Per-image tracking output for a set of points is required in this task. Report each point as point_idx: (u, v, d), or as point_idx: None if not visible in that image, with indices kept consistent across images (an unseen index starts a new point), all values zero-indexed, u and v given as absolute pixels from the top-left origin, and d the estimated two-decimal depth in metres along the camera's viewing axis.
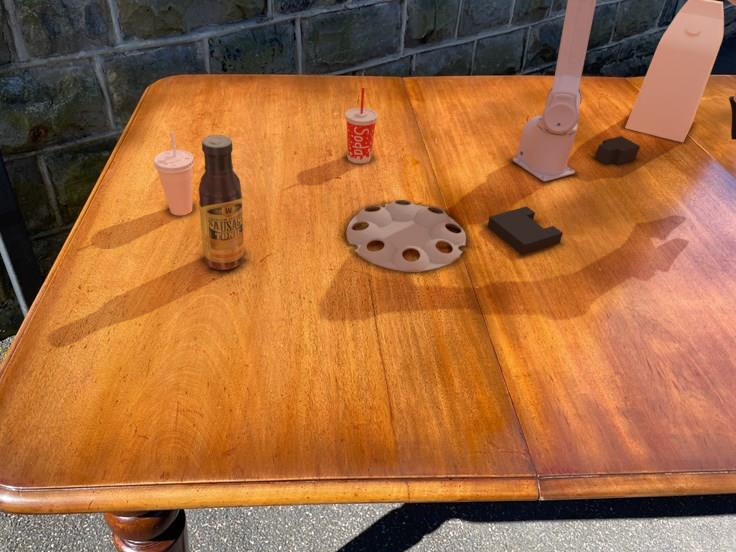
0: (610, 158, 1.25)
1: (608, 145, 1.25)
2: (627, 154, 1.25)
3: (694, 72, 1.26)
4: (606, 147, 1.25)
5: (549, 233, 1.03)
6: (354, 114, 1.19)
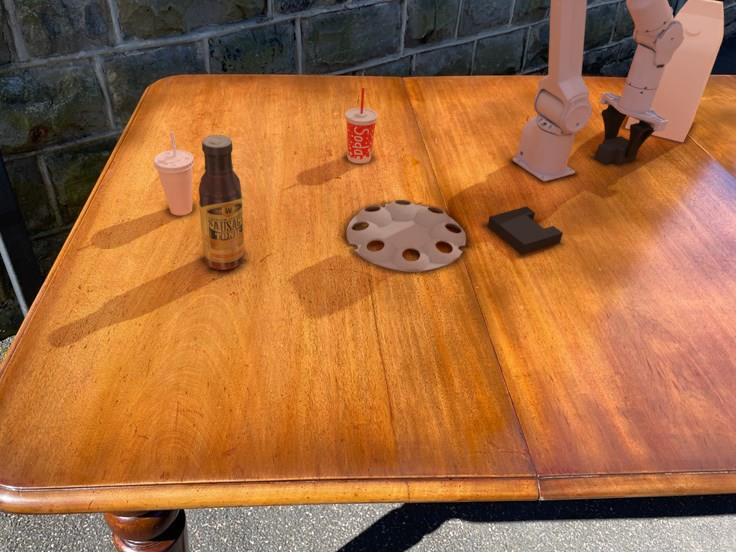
0: (610, 158, 1.25)
1: (608, 145, 1.25)
2: None
3: (694, 72, 1.26)
4: (606, 146, 1.25)
5: (549, 233, 1.03)
6: (354, 114, 1.19)
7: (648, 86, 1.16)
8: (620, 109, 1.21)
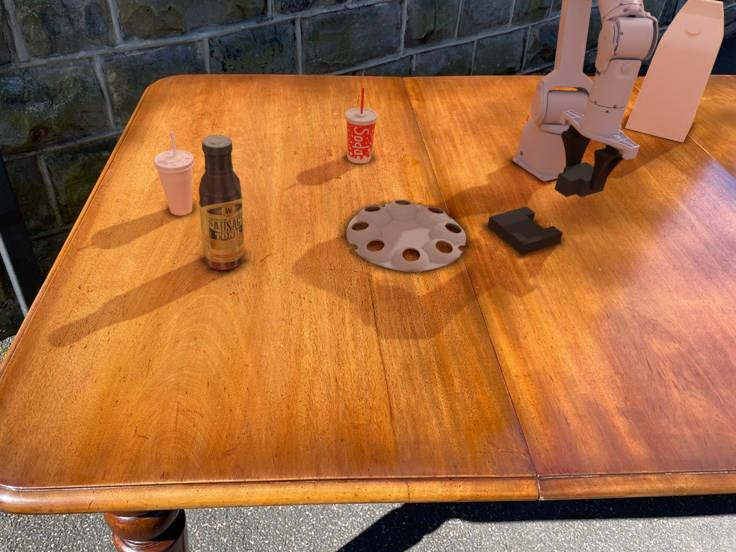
0: (572, 190, 1.03)
1: (570, 174, 1.03)
2: None
3: (694, 72, 1.26)
4: (567, 176, 1.03)
5: (549, 233, 1.03)
6: (354, 114, 1.19)
7: (589, 93, 0.97)
8: (582, 131, 0.99)
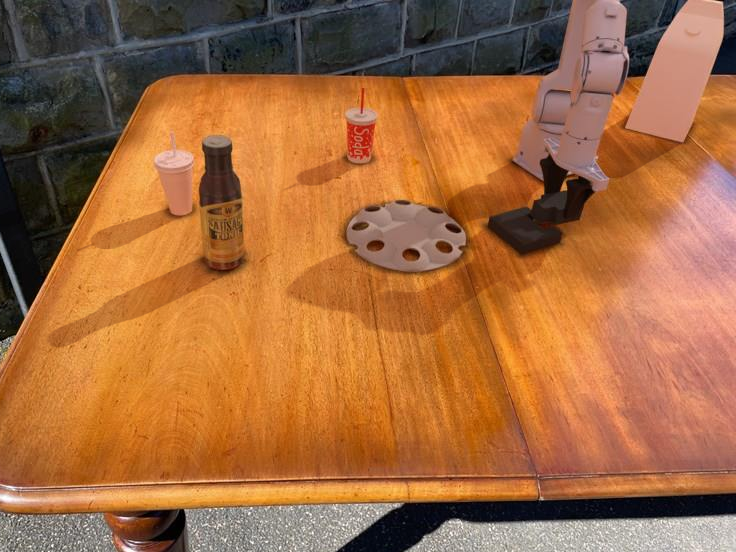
0: (546, 217, 1.04)
1: (545, 201, 1.04)
2: None
3: (694, 72, 1.26)
4: (541, 203, 1.04)
5: (549, 233, 1.03)
6: (354, 114, 1.19)
7: None
8: (556, 161, 1.00)
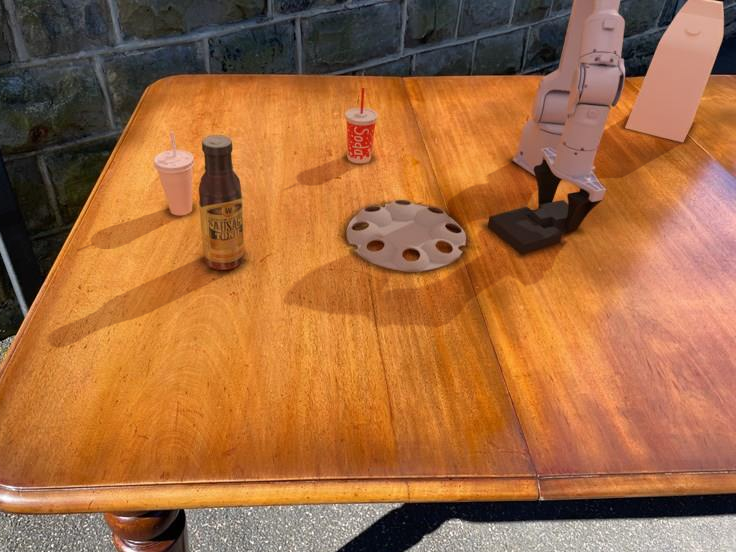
0: (543, 227, 1.06)
1: (542, 211, 1.06)
2: (564, 223, 1.05)
3: (694, 72, 1.26)
4: (538, 213, 1.05)
5: (549, 233, 1.03)
6: (354, 114, 1.19)
7: None
8: (553, 171, 1.01)
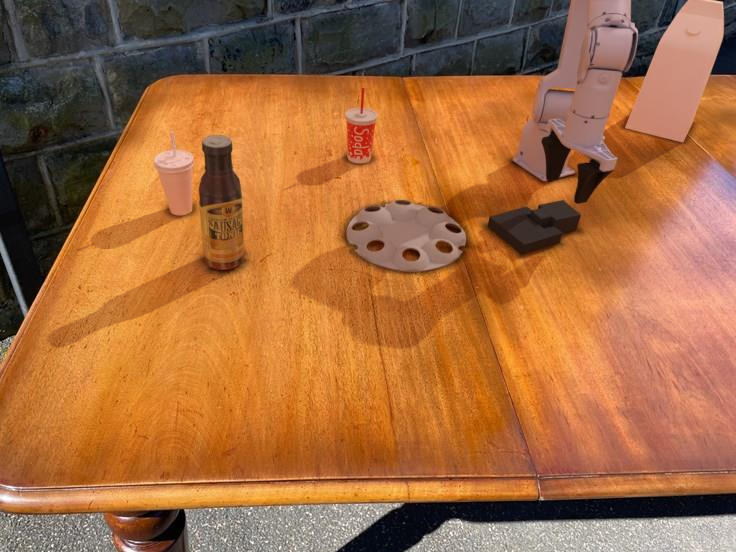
0: (543, 227, 1.06)
1: (542, 211, 1.06)
2: (564, 223, 1.05)
3: (694, 72, 1.26)
4: (538, 213, 1.05)
5: (549, 233, 1.03)
6: (354, 114, 1.19)
7: None
8: (563, 141, 0.98)
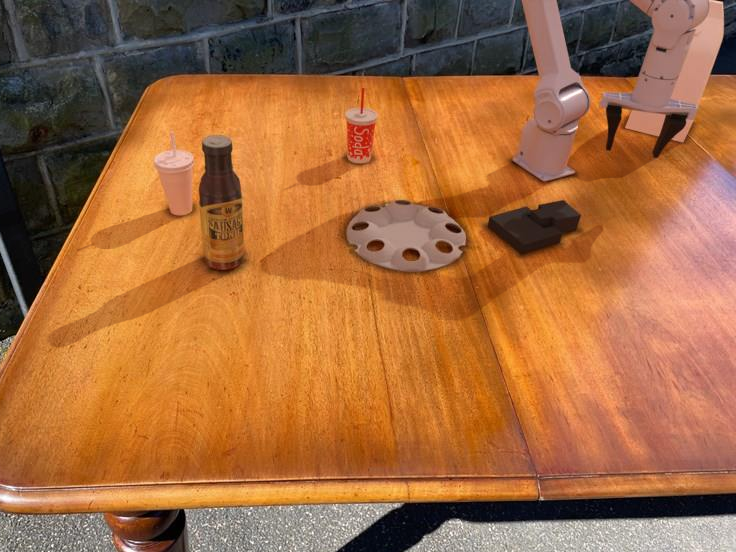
0: (543, 227, 1.06)
1: (542, 211, 1.06)
2: (564, 223, 1.05)
3: (694, 72, 1.26)
4: (538, 213, 1.05)
5: (549, 233, 1.03)
6: (354, 114, 1.19)
7: (646, 71, 0.99)
8: (647, 108, 1.01)
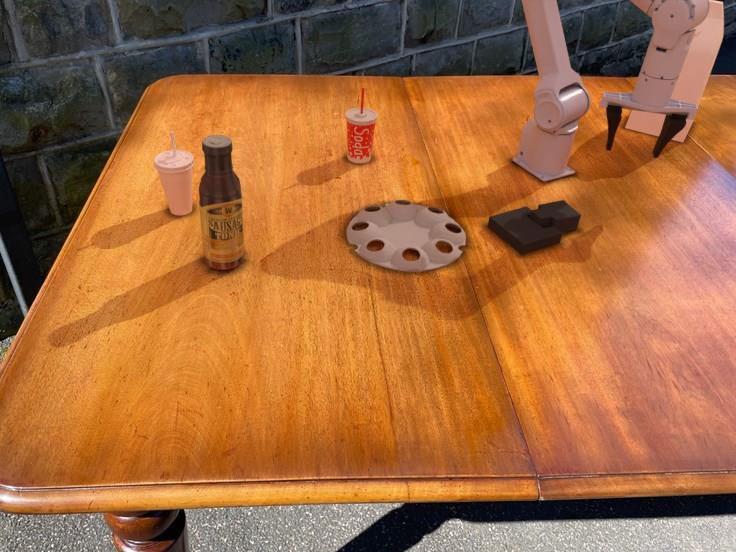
0: (543, 227, 1.06)
1: (542, 211, 1.06)
2: (564, 223, 1.05)
3: (694, 72, 1.26)
4: (538, 213, 1.05)
5: (549, 233, 1.03)
6: (354, 114, 1.19)
7: (646, 71, 0.99)
8: (647, 108, 1.01)
